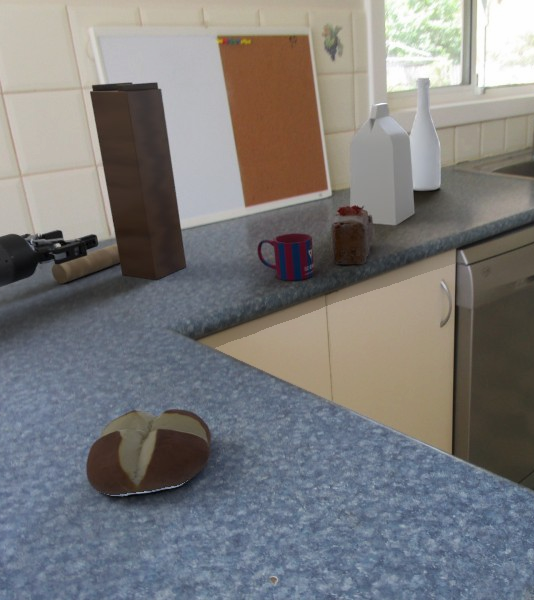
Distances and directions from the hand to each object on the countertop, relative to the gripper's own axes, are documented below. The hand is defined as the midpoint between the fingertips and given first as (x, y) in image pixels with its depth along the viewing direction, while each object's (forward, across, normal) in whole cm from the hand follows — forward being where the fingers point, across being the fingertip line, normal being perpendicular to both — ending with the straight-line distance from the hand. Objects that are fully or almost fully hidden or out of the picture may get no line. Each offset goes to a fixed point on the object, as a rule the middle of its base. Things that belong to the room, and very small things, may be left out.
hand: (78, 237), depth 119 cm
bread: (-42, -55, +7) cm, 70 cm away
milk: (+58, -33, +7) cm, 67 cm away
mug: (+13, -35, +7) cm, 38 cm away
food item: (+28, -41, +7) cm, 50 cm away
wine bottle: (+94, -29, +7) cm, 98 cm away
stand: (+6, -11, +7) cm, 14 cm away
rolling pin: (+5, 0, +5) cm, 7 cm away
